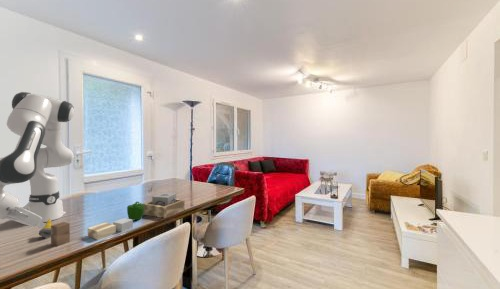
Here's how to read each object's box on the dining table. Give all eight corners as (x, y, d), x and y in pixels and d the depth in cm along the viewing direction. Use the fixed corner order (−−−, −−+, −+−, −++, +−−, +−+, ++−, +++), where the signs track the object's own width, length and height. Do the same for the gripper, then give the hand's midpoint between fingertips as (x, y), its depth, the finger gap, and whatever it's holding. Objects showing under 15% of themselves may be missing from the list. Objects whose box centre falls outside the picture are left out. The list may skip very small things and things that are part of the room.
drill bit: (34, 241, 97) (39, 220, 103) (49, 242, 101) (52, 222, 107) (41, 235, 96) (46, 214, 102) (56, 236, 100) (59, 216, 106)
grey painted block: (113, 230, 109) (113, 222, 109) (124, 225, 115) (124, 218, 114) (122, 232, 107) (121, 223, 107) (132, 227, 112) (132, 219, 112)
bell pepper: (125, 218, 124) (125, 200, 124) (141, 215, 129) (141, 198, 129) (129, 223, 118) (128, 204, 117) (145, 219, 123) (145, 201, 123)
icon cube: (176, 209, 142) (176, 193, 141) (167, 214, 132) (167, 197, 131) (161, 208, 143) (161, 192, 143) (152, 213, 133) (152, 196, 133)
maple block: (87, 236, 102) (87, 228, 102) (105, 230, 109) (105, 222, 109) (97, 240, 98) (97, 231, 98) (115, 233, 105) (115, 225, 105)
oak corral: (142, 213, 132) (142, 203, 132) (163, 205, 147) (163, 196, 147) (164, 218, 125) (164, 207, 125) (184, 209, 141) (184, 199, 141)
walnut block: (51, 244, 94) (50, 225, 94) (63, 239, 98) (63, 221, 98) (57, 246, 92) (57, 227, 92) (69, 241, 96) (69, 223, 96)
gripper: (24, 202, 76) (58, 220, 86) (-4, 195, 84) (30, 213, 94) (6, 219, 72) (44, 237, 82) (-21, 210, 80) (16, 227, 90)
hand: (36, 224), depth 88 cm, fingers open, 8 cm apart
